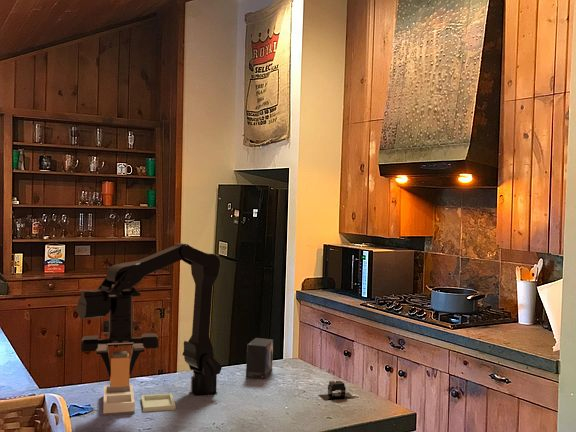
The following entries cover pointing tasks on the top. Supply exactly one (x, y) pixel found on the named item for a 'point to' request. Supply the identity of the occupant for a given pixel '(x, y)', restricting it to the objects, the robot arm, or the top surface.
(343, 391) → the dark boxy piece
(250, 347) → the small box
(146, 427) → the top surface
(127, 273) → the robot arm
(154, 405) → the tray
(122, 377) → the plug
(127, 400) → the cream slotted rack
